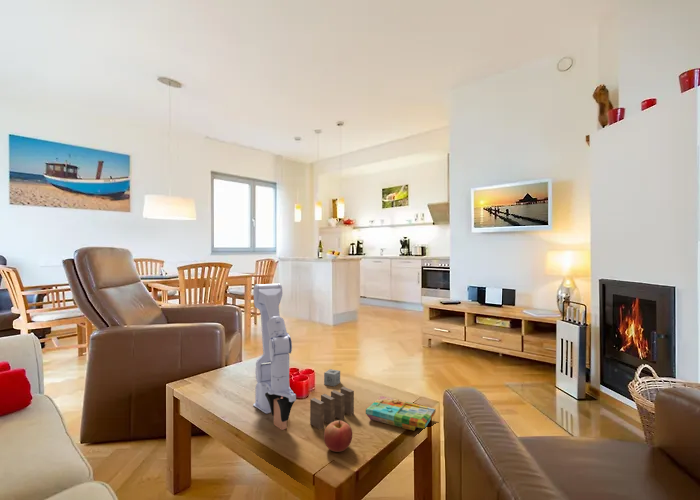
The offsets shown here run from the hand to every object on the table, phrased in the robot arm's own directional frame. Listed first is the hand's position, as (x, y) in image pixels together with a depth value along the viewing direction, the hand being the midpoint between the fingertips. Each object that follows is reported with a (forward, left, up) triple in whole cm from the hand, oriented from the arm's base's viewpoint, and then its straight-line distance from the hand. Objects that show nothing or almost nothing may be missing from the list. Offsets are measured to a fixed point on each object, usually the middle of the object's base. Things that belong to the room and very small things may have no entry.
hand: (280, 417), depth 108 cm
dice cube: (-16, +36, -3) cm, 39 cm away
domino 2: (+8, +9, -3) cm, 12 cm away
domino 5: (+8, +22, -3) cm, 23 cm away
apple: (+22, +5, -3) cm, 23 cm away
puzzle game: (+24, +31, -3) cm, 39 cm away
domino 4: (+8, +17, -3) cm, 19 cm away
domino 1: (0, 0, -3) cm, 3 cm away
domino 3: (+8, +13, -3) cm, 16 cm away
